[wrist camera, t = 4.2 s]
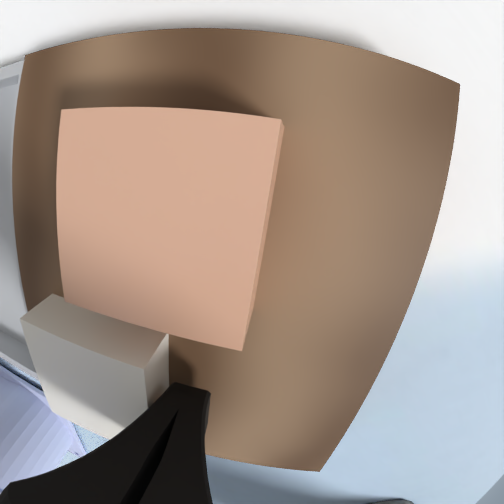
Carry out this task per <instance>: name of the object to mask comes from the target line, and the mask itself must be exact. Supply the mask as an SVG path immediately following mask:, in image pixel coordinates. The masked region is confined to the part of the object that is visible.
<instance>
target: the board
mask: <svg viewBox="0 0 504 504" xmlns="http://www.w3.org/2000/svg"><path fill="white" fill-rule="evenodd" d="M459 92H460V84H459V83H457V82H454V81H452V80H450V79H448V78H445V77H443V76H440V75H438V74H436V73H433V72H431V71H428V70H426V69H423V68H420V67H418V66H415V65H412V64H409V63H406V62H404V61H401V60H398V59H395V58H391V57H388V56H385V55H382V54H378V53H375V52H371V51H368V50H364V49H360V48H356V47H352V46H348V45H344V44H340V43H335V42H330V41H325V40H320V39H315V38H309V37H303V36H297V35H290V34H283V33H275V32H266V31H255V30H242V29H220V28H183V29H162V30H149V31H139V32H130V33H122V34H115V35H108V36H102V37H96V38H91V39H86V40H81V41H76V42H72V43H67V44H63V45H59V46H55V47H51V48H48V49H44V50H41V51H37V52H34V53H31V54H28V55H25V59H24V64H23V69H22V74H21V79H20V85H19V92H18V98H17V106H16V114H15V124H14V136H13V155H12V199H13V217H14V230H15V240H16V249H17V256H18V263H19V270H20V276H21V282H22V287H23V292H24V297H25V302H26V307H27V311H28V312H29V311H30V310H31V309H33V308H34V307H35V306H36V305H38V304H39V303H40V302H42V301H43V300H44V299H46V298H47V297H49V296H50V295H51V294H55V295H58V296H60V297H63V298H64V293H63V286H62V278H61V270H60V260H59V248H58V234H57V209H56V177H57V153H58V138H59V127H60V118H61V110H63V109H76V108H96V107H163V108H184V109H198V110H211V111H221V112H231V113H239V114H247V115H255V116H262V117H269V118H276V119H281V120H282V122H283V125H284V132H283V138H282V144H281V150H280V156H279V162H278V168H277V174H276V180H275V186H274V192H273V198H272V204H271V210H270V215H269V221H268V227H267V233H266V239H265V244H264V250H263V256H262V261H261V267H260V273H259V278H258V284H257V290H256V295H255V301H254V306H253V311H252V315H251V319H250V322H249V326H248V330H247V334H246V338H245V342H244V345H243V349H242V351H238V350H234V349H229V348H224V347H220V346H216V345H211V344H207V343H203V342H198V341H194V340H190V339H186V338H182V337H178V336H175V335H171V334H169V386H170V385H171V384H172V383H173V382H177V383H181V384H185V385H188V386H192V387H196V388H200V389H204V390H208V391H209V392H210V393H211V397H210V406H209V416H208V425H207V429H206V433H205V454H207V455H211V456H215V457H220V458H224V459H229V460H234V461H239V462H244V463H250V464H256V465H262V466H269V467H276V468H285V469H294V470H304V471H317V472H320V470H321V469H322V467H323V466H324V465H325V463H326V462H327V460H328V459H329V457H330V456H331V454H332V453H333V451H334V450H335V448H336V447H337V445H338V444H339V442H340V440H341V439H342V437H343V436H344V434H345V433H346V431H347V429H348V428H349V426H350V424H351V423H352V421H353V419H354V418H355V416H356V414H357V412H358V411H359V409H360V407H361V405H362V404H363V402H364V400H365V398H366V396H367V395H368V393H369V391H370V389H371V387H372V385H373V383H374V381H375V379H376V377H377V376H378V374H379V372H380V370H381V368H382V366H383V363H384V361H385V359H386V357H387V355H388V353H389V351H390V349H391V347H392V344H393V342H394V340H395V338H396V335H397V333H398V331H399V328H400V326H401V324H402V321H403V319H404V317H405V314H406V312H407V309H408V307H409V304H410V302H411V299H412V296H413V294H414V291H415V288H416V286H417V283H418V280H419V277H420V274H421V271H422V268H423V265H424V262H425V259H426V256H427V253H428V250H429V247H430V243H431V240H432V237H433V233H434V230H435V226H436V222H437V219H438V215H439V211H440V207H441V203H442V199H443V194H444V190H445V186H446V181H447V176H448V171H449V166H450V161H451V155H452V149H453V143H454V136H455V129H456V121H457V113H458V103H459Z"/></svg>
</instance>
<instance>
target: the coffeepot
mask: <svg viewBox="0 0 504 504" xmlns="http://www.w3.org/2000/svg"><path fill="white" fill-rule="evenodd" d="M371 504H413V503H412V502H411V501H407V500H390V501H382V502H376V503H371Z"/></svg>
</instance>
